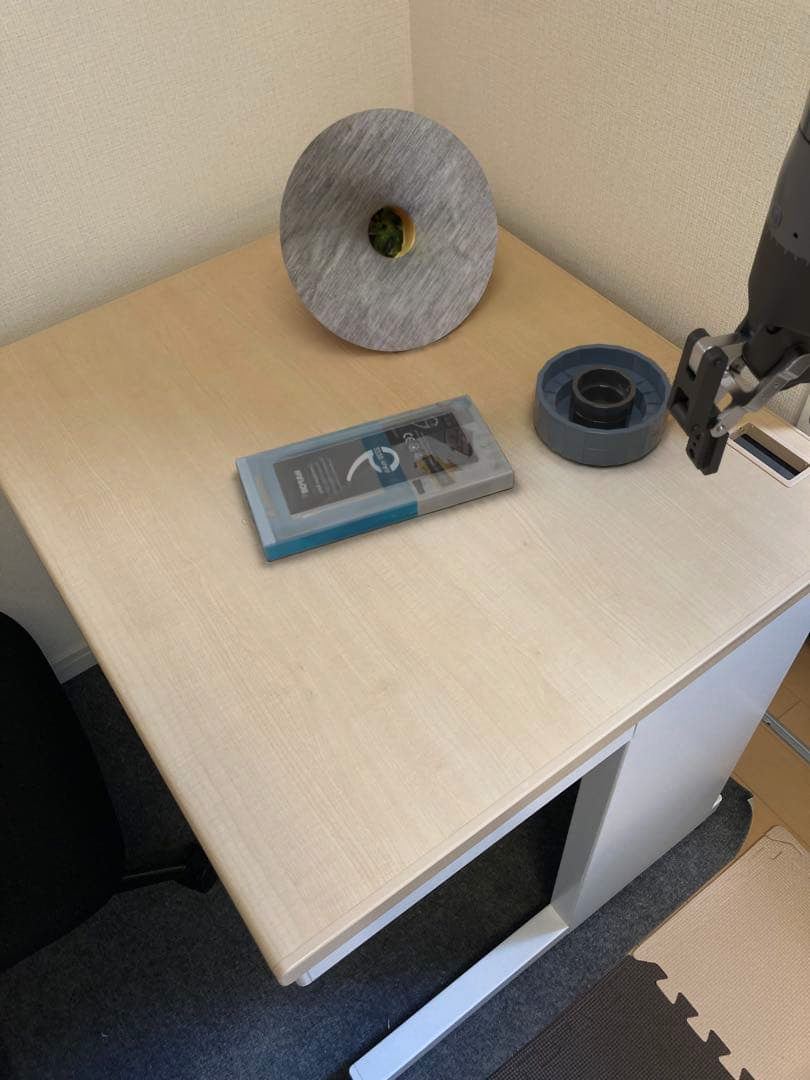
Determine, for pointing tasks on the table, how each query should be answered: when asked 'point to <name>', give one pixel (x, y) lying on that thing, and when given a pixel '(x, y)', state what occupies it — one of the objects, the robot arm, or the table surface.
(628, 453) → the grey bowl
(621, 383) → the black cup
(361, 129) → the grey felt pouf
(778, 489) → the table surface
